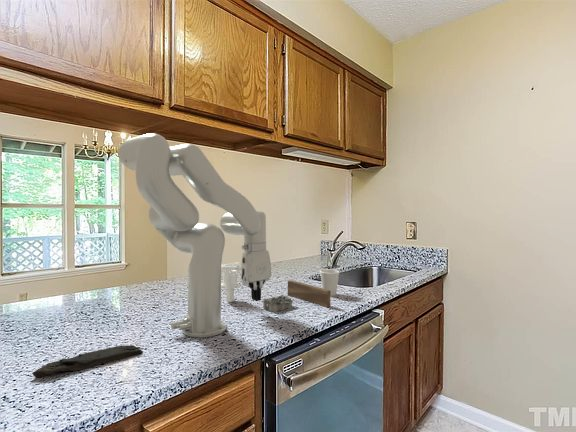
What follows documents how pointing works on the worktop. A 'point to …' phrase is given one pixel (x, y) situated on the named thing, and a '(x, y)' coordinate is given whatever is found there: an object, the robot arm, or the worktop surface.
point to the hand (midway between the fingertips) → (256, 299)
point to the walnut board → (309, 293)
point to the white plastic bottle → (230, 280)
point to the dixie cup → (330, 280)
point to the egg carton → (277, 303)
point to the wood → (88, 360)
